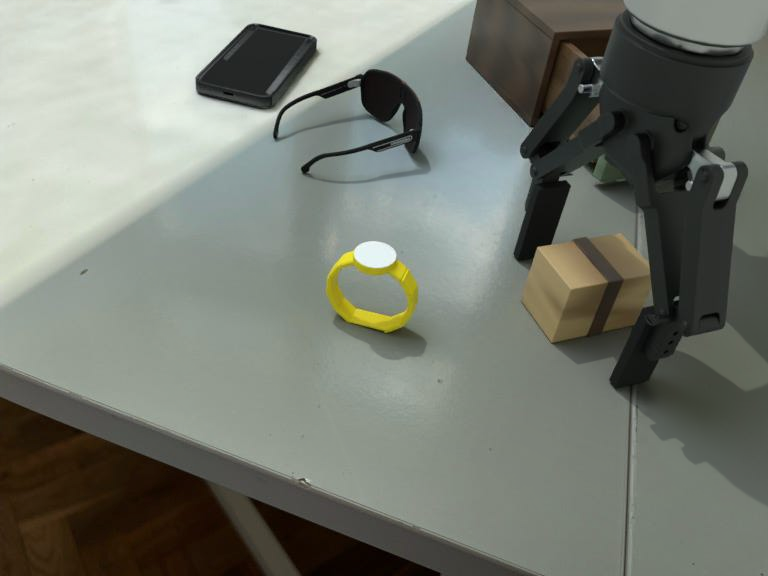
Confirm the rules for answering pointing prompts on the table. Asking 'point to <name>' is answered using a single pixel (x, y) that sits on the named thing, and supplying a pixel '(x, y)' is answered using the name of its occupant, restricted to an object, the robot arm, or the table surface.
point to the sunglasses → (374, 110)
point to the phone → (257, 65)
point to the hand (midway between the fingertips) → (575, 312)
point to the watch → (373, 262)
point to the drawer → (557, 82)
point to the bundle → (586, 286)
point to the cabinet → (531, 43)
